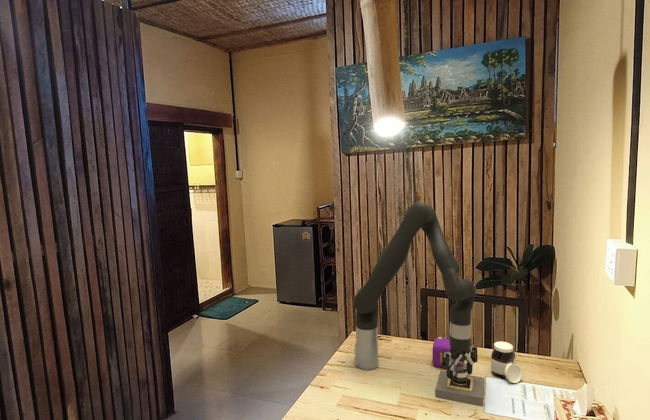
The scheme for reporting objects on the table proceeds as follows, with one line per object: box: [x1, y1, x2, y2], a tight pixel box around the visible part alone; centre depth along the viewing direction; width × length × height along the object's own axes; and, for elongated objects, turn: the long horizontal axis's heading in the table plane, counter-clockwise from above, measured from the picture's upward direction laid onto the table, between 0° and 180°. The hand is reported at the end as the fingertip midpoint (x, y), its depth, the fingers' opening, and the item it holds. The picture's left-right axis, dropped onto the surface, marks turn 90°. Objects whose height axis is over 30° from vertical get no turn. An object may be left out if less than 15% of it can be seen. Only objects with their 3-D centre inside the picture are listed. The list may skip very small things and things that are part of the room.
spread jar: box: [490, 341, 523, 384], centre depth 155 cm, size 12×11×12 cm
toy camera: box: [432, 336, 465, 368], centre depth 166 cm, size 11×14×10 cm
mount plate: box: [434, 370, 485, 407], centre depth 146 cm, size 16×14×4 cm
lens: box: [452, 366, 469, 389], centre depth 146 cm, size 5×5×8 cm
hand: (459, 376), depth 146 cm, fingers open, 8 cm apart
